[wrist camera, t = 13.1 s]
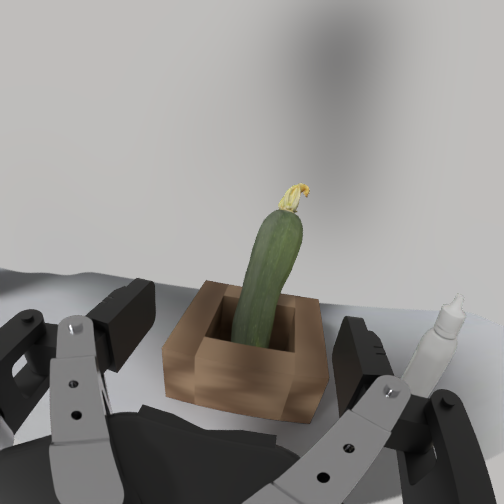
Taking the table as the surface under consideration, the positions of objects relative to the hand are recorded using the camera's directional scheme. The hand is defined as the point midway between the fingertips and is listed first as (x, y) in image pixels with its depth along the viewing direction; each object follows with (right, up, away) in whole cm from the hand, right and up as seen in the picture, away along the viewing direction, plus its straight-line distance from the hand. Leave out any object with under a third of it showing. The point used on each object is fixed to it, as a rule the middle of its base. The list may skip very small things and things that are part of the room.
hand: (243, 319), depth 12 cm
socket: (0, -8, +15) cm, 17 cm away
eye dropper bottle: (+15, -12, +11) cm, 22 cm away
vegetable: (-1, -8, +12) cm, 15 cm away
